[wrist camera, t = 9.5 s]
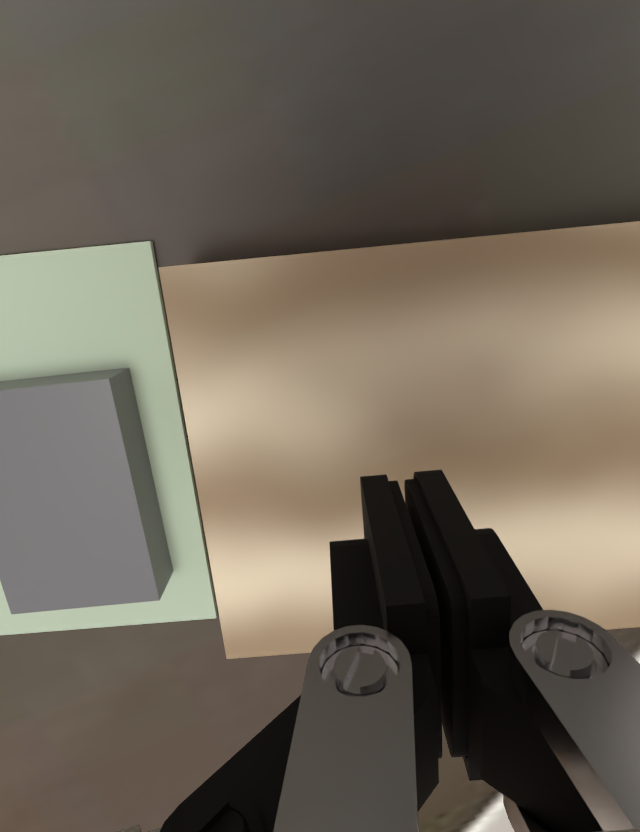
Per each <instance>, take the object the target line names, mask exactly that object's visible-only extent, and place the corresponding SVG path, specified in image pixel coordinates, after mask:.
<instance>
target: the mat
mask: <svg viewBox="0 0 640 832" xmlns="http://www.w3.org/2000/svg"><path fill="white" fill-rule="evenodd" d="M121 368H130V373H131V378H132V382H133V387H134V391H135V396H136V401H137V405H138V410H139V415H140V419H141V424H142V428H143V433H144V438H145V442H146V447H147V452H148V456H149V461H150V465H151V470H152V475H153V479H154V484H155V488H156V493H157V498H158V502H159V507H160V512H161V516H162V521H163V525H164V530H165V535H166V539H167V544H168V549H169V553H170V558H171V562H172V567H173V573H172V575H171V578H170V580H169V582H168V584H167V586H166V588H165V590H164V592H163V594H162V597H161V599H160V601H149V602H138V603H128V604H117V605H106V606H96V607H85V608H74V609H64V610H53V611H42V612H32V613H21V614H11V612H10V609H9V606H8V603H7V600H6V597H5V594H4V591H3V588H2V585H1V582H0V635H10V634H23V633H35V632H48V631H61V630H73V629H86V628H98V627H111V626H123V625H136V624H148V623H161V622H174V621H186V620H199V619H211V618H217V615H218V612H217V607H216V601H215V595H214V589H213V584H212V578H211V572H210V567H209V561H208V555H207V549H206V544H205V538H204V532H203V527H202V521H201V515H200V510H199V504H198V498H197V492H196V487H195V481H194V475H193V470H192V464H191V458H190V452H189V447H188V441H187V435H186V430H185V424H184V418H183V413H182V407H181V401H180V395H179V390H178V384H177V378H176V373H175V367H174V361H173V356H172V350H171V344H170V338H169V333H168V327H167V321H166V316H165V310H164V304H163V298H162V293H161V287H160V281H159V276H158V270H157V264H156V259H155V253H154V247H153V241H146V242H136V243H125V244H115V245H105V246H95V247H84V248H74V249H64V250H54V251H43V252H33V253H23V254H13V255H2V256H0V381H9V380H18V379H28V378H37V377H46V376H56V375H65V374H75V373H84V372H93V371H103V370H112V369H121Z"/></svg>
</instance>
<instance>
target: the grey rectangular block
mask: <svg viewBox="0 0 640 832" xmlns="http://www.w3.org/2000/svg"><path fill="white" fill-rule="evenodd" d="M172 573H173V567H172V562H171V558H170V553H169V549H168V544H167V539H166V535H165V530H164V525H163V521H162V516H161V512H160V507H159V502H158V498H157V493H156V488H155V484H154V479H153V475H152V470H151V465H150V461H149V456H148V452H147V447H146V442H145V438H144V433H143V428H142V424H141V419H140V415H139V410H138V405H137V401H136V396H135V391H134V387H133V382H132V378H131V373H130V368H121V369H112V370H103V371H93V372H84V373H75V374H65V375H56V376H46V377H37V378H28V379H18V380H9V381H0V582H1V585H2V588H3V591H4V594H5V597H6V600H7V603H8V606H9V609H10V612H11V614H21V613H32V612H42V611H53V610H64V609H74V608H85V607H96V606H106V605H117V604H128V603H138V602H149V601H160V599H161V597H162V594H163V592H164V590H165V588H166V586H167V584H168V582H169V580H170V578H171V575H172Z"/></svg>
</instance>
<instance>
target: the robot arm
mask: <svg viewBox="0 0 640 832" xmlns="http://www.w3.org/2000/svg"><path fill="white" fill-rule="evenodd" d="M360 486H361V500H362V514H363V528H364V539H354V540H342V541H331V542H329V544H330V565H331V585H332V606H333V626H334V631H332V632H331V633H329V634H328V635H326V636H324V637H323V638H322V639H321V640H320V641H319V642H318V643H317V644H316V645H315V647H314V648H313V650H312V652H311V654H310V657H309V659H308V664H307V668H306V673H305V678H304V683H303V688H302V693H301V695H300V696H299V697H298V698H297V699H296V700H295V701H294V702H293V703H292V704H290V705H289V706H288V707H287V708H286V709H285V710H284V711H283V712H282V713H281V714H279V715H278V716H277V717H276V718H275V719H274V720H273V721H272V722H271V723H269V724H268V725H267V726H266V727H265V728H264V729H263V730H262V731H261V732H260V733H258V734H257V735H256V736H255V737H254V738H253V739H252V740H251V741H250V742H248V743H247V744H246V745H245V746H244V747H243V748H242V749H241V750H240V751H238V752H237V753H236V754H235V755H234V756H233V757H232V758H231V759H230V760H229V761H227V762H226V763H225V764H224V765H223V766H222V767H221V768H220V769H219V770H217V771H216V772H215V773H214V774H213V775H212V776H211V777H210V778H209V779H208V780H206V781H205V782H204V783H203V784H202V785H201V786H200V787H199V788H198V789H196V790H195V791H194V792H193V793H192V794H191V795H190V796H189V797H188V798H187V799H185V800H184V801H183V802H182V803H181V804H180V805H179V806H178V807H177V808H176V810H175V811H174V812H173V813H172V814H171V815H170V816H169V817H168V819H167V820H166V821H165V822H164V824H163V826H162V827H161V828H158V829H155V830H152V831H149V832H419V829H418V811H419V810H420V808H421V807H422V805H423V804H424V803H425V801H426V800H427V798H428V797H429V795H430V794H431V793H432V791H433V790H434V788H435V787H436V786H437V784H438V783H439V776H438V758H442V725H443V729H444V732H445V736H446V740H447V744H448V748H449V751H450V754H451V756H452V757H463V759H464V763H465V766H466V770H467V773H468V777H469V780H470V781H471V780H484V781H485V782H486V783H488V784H489V785H491V786H492V787H494V788H495V789H496V790H498V791H499V792H501V793H502V794H503V803H504V806H505V809H506V812H507V815H508V818H509V820H510V823H511V825H512V827H513V829H514V831H515V832H640V664H639V663H638V662H637V661H636V660H635V659H634V658H633V657H632V656H631V655H630V654H629V653H628V651H627V650H626V649H625V648H624V647H623V646H622V645H621V644H620V643H619V642H618V641H617V640H616V639H615V638H614V637H613V636H612V635H611V634H609V633H608V632H607V631H606V630H605V629H603V628H602V627H601V626H600V625H598V624H596V623H594V622H592V621H590V620H588V619H587V618H585V617H582V616H579V615H576V614H573V613H570V612H565V611H558V610H543V608H542V607H541V605H540V604H539V602H538V600H537V599H536V597H535V595H534V594H533V592H532V591H531V589H530V587H529V586H528V584H527V582H526V581H525V579H524V578H523V576H522V574H521V573H520V571H519V569H518V568H517V566H516V565H515V563H514V561H513V560H512V558H511V556H510V555H509V553H508V552H507V550H506V548H505V547H504V545H503V544H502V542H501V540H500V539H499V537H498V535H497V534H496V532H495V531H494V530H493V529H491V528H484V529H474V527H473V526H472V524H471V522H470V520H469V518H468V517H467V515H466V513H465V511H464V509H463V507H462V506H461V504H460V502H459V500H458V498H457V497H456V495H455V493H454V491H453V489H452V487H451V486H450V484H449V482H448V480H447V478H446V477H445V475H444V473H443V471H442V470H431V471H419V472H414V476H413V479H407V480H405V483H404V488H405V501H404V498H403V495H402V492H401V489H400V486H399V483H398V481H397V480H395V481H388V478H387V475H386V474H385V475H373V476H362V477H360ZM117 832H142V831H141V828H140V825H136V826H133V827H129V828H126V829H123V830H120V831H117Z"/></svg>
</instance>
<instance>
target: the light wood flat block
mask: <svg viewBox="0 0 640 832" xmlns="http://www.w3.org/2000/svg"><path fill="white" fill-rule="evenodd" d="M158 268H159V274H160V279H161V285H162V291H163V297H164V302H165V308H166V314H167V320H168V325H169V331H170V337H171V342H172V348H173V354H174V360H175V365H176V371H177V377H178V383H179V388H180V394H181V400H182V405H183V411H184V417H185V423H186V428H187V434H188V440H189V446H190V451H191V457H192V463H193V468H194V474H195V480H196V486H197V491H198V497H199V503H200V509H201V514H202V520H203V526H204V531H205V537H206V543H207V549H208V554H209V560H210V566H211V572H212V577H213V583H214V589H215V594H216V600H217V606H218V612H219V617H220V623H221V629H222V635H223V640H224V646H225V652H226V657H227V659H233V658H246V657H258V656H271V655H284V654H297V653H310V652H312V650H313V648H314V647H315V645H316V644H317V643H318V642H319V641H320V640H321V639H322V638H323V637H324V636H326V635H328V634H329V633H331V632H332V631H334V626H333V606H332V585H331V565H330V544H329V542H331V541H342V540H354V539H364V528H363V514H362V500H361V486H360V477H362V476H373V475H385V474H386V475H387V478H388V481H395V480H397V481H398V483H399V486H400V489H401V492H402V495H403V498H404V501H405V488H404V483H405V480H407V479H413V476H414V472H419V471H431V470H442V471H443V473H444V475H445V477H446V478H447V480H448V482H449V484H450V486H451V487H452V489H453V491H454V493H455V495H456V497H457V498H458V500H459V502H460V504H461V506H462V507H463V509H464V511H465V513H466V515H467V517H468V518H469V520H470V522H471V524H472V526H473V527H474V529H484V528H491V529H493V530H494V531H495V532H496V534H497V535H498V537H499V539H500V540H501V542H502V544H503V545H504V547H505V548H506V550H507V552H508V553H509V555H510V556H511V558H512V560H513V561H514V563H515V565H516V566H517V568H518V569H519V571H520V573H521V574H522V576H523V578H524V579H525V581H526V582H527V584H528V586H529V587H530V589H531V591H532V592H533V594H534V595H535V597H536V599H537V600H538V602H539V604H540V605H541V607H542V608H543V610H558V611H565V612H570V613H573V614H576V615H579V616H582V617H585V618H587V619H588V620H590V621H592V622H594V623H596V624H598V625H600V626H601V627H602V628H603V629H605V630H606V629H619V628H632V627H640V221H636V222H626V223H615V224H605V225H594V226H584V227H574V228H563V229H553V230H542V231H532V232H522V233H511V234H501V235H491V236H480V237H470V238H459V239H449V240H439V241H428V242H418V243H407V244H397V245H387V246H376V247H366V248H355V249H345V250H335V251H324V252H314V253H303V254H293V255H283V256H272V257H262V258H251V259H241V260H231V261H220V262H210V263H199V264H189V265H179V266H168V267H158Z"/></svg>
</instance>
